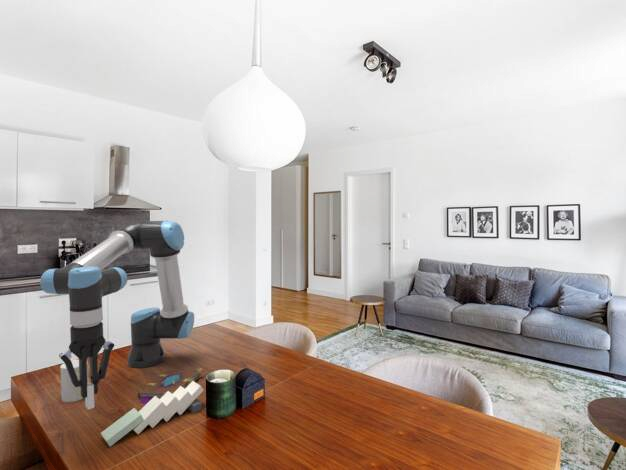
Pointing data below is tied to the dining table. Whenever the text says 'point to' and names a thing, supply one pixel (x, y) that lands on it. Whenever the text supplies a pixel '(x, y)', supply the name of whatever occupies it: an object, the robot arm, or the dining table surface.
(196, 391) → the domino
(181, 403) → the domino
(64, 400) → the cup
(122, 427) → the domino
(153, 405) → the domino
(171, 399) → the domino
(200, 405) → the stop bar
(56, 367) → the dining table surface
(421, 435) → the dining table surface
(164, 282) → the robot arm
